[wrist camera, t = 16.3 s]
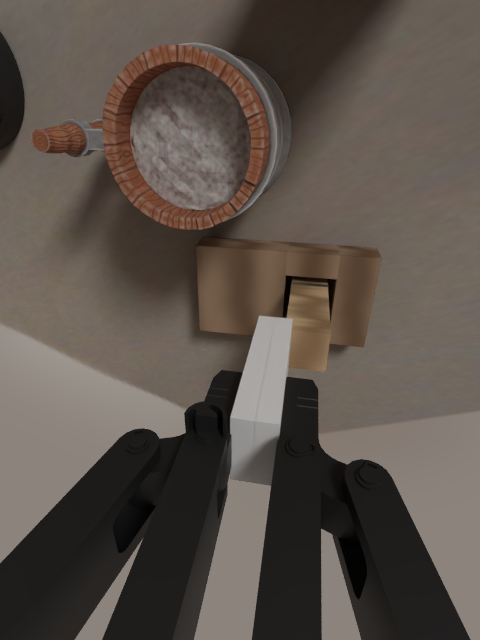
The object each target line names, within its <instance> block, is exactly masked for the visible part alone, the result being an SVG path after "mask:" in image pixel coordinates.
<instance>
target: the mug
mask: <svg viewBox="0 0 480 640" xmlns="http://www.w3.org/2000/svg"><path fill="white" fill-rule="evenodd" d="M31 141H32V144H33V146H34V147H35V148H36V149H37V150H38V151H41V152H46V153H64V152H65V153H67V154H68V155H70V156H73V157H81V156H86V155H90V154H91V153H92V152H93V151H98V150H100V151H103V152H105V153H106V158H107V162H108V164H109V167H110V169H111V171H112V174H113V176H114V178H115V180H116V182H117V183H118V185H119V187H120V188H121V190H122V192H123V193H124V194H125V195H126V197H127V198H128V199H129V200H130V202H131V203H132V204H133V205H134V206H136V207H137V208H138V209H139V210H140V211H142V212H143V213H144V214H145V215H147V216H149V217H150V218H152V219H154V220H155V221H157V222H159V223H162V224H164V225H167V226H169V227H173V228H178V229H184V230H192V229H199V230H201V229H205V228H209V227H213V226H214V225H216V224H219V223H221V222H225V221H227V220H229V219H232V218H234V217H236V216H238V215H239V214H241V213H242V212H243V211H245V210H246V209H247V208H249V207H250V206H251V205H252V204H253V203H254V201H255V200H256V199H257V198H258V197H259V196H260V195H261V194H262V193H263V192H264V191H266V190H267V189H268V188H269V187H270V186H271V185H272V184H273V182H274V181H275V180H276V179H277V178H278V176H279V174H280V173H281V171H282V169H283V167H284V165H285V162H286V160H287V157H288V154H289V149H290V143H291V120H290V115H289V109H288V106H287V103H286V101H285V98H284V96H283V93H282V92H281V90H280V88H279V87H278V85H277V84H276V82H275V81H274V79H273V78H272V77H271V76H270V75H269V74H268V73H267V72H266V71H265V70H264V69H263V68H261V67H260V66H258V65H257V64H255V63H254V62H252V61H250V60H248V59H245V58H242V57H240V56H237V55H231V54H230V53H228V52H227V51H225V50H222V49H220V48H217V47H214V46H212V45H209V44H201V43H192V42H191V43H183V44H174V45H164V46H158V47H155V48H153V49H150V50H148V51H146V52H143V53H142V54H140V55H139V56H138V57H136V58H135V59H134V60H133V61H131V62H130V63H129V64H128V65H127V66H126V67H125V68H124V70H123V71H122V72H121V73H120V74H119V75H118V77H117V79H116V80H115V82H114V84H113V86H112V88H111V90H110V91H109V93H108V97H107V100H106V103H105V107H104V110H103V118H100V119H96V120H94V121H93V122H92V123H86V122H85V121H84V120H80V119H68V120H64V121H63V122H62V123H61V124H59V126H58V127H57V126H53V127H49V128H47V129H43V130H40V129H38V130H34V131H33V132H32V135H31Z"/></svg>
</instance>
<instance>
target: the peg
mask: <svg viewBox="0 0 480 640" xmlns="http://www.w3.org/2000/svg"><path fill="white" fill-rule="evenodd" d="M287 318H290V319H293V321H292V333H291V344H290V355H289V366H288V367H290V368H299V369H308V370H316V371H325V370H326V364H327V357H328V350H329V344H330V337H331V328H330V312H329V295H328V279H325V278H312V277H299V276H293V278H292V282H291V291H290V298H289V305H288V311H287Z"/></svg>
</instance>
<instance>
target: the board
mask: <svg viewBox="0 0 480 640" xmlns="http://www.w3.org/2000/svg"><path fill="white" fill-rule="evenodd" d="M196 258H197V279H198V301H199V323H200V331H210V332H219V333H229V334H239V335H249V336H254V332H255V329H256V325H257V322H258V318H259V316H268V317H279V318H287V311H288V307H286V306H284V305H285V292H286V279H287V276H299V277H312V278H325V279H334V282H333V289H332V297H331V304H330V310H329V312H330V328H331V337H330V344H337V345H346V346H356V347H364V343H365V338H366V333H367V328H368V324H369V319H370V314H371V309H372V304H373V299H374V294H375V289H376V284H377V279H378V274H379V269H380V264H381V259H382V258H381V256H380V254H379V251H378V249H377V248H367V247H352V246H336V245H321V244H305V243H290V242H274V241H259V240H243V239H228V238H212V237H204V238H203V239H202V240H201V241H200V242H199V243H198V244H197V245H196Z"/></svg>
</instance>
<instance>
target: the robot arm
mask: <svg viewBox="0 0 480 640" xmlns="http://www.w3.org/2000/svg"><path fill="white" fill-rule="evenodd" d="M23 112H24V91H23V84H22V79H21V75H20V71H19V68H18V65H17V63H16V60H15V58H14V55H13V53H12V51H11V49H10V47H9V45H8V43H7V41H6V40H5V38H4V37H3V35H2V34H1V32H0V150H1V149H3V148H4V147H6V146H7V145H8V144H9V143H10V142H11V141H12V140H13V139H14V137H15V136H16V134H17V132H18V130H19V128H20V125H21V122H22V118H23ZM292 321H293V319H290V318H279V317H268V316H259V318H258V322H257V325H256V329H255V332H254V336H253V339H252V343H251V346H250V350H249V353H248V357H247V360H246V364H245V367H244V371H243V373H242V372H233V371H225V370H221V371H220V372H219V373H218V374H217V375H216V376H215V377H214V378H213V380H212V383H211V385H210V388H209V390H208V393H207V396H206V398H205V401H204V402H199V403H196V404H194V405H192V406H190V407H189V408H188V409H187V410H186V412H185V413H184V414H185V426H186V433H185V434H182V435H180V436H176V437H172V438H163V439H159V437H158V436H157V434H156V433H155V432H153V431H151V430H148V429H135V430H132V431H130V432H127V433H126V434H124V435H123V436H122V437H120V438H119V439H118V440H117V442H116V443H115V444H114V445H113V446H112V447H111V448H110V449H109V450H108V451H107V452H106V453H105V454H104V455H103V456H102V457H101V458H100V460H98V462H96V464H95V465H94V466H93V467H92V468H91V469H90V470H89V471H88V472H87V473H86V474H85V475H84V476H83V478H81V479H80V480H79V481H78V482H77V484H76V485H75V486H74V487H73V488H72V489H71V490H70V491H69V492H68V493H67V494H66V495H65V496H64V497H63V498H62V499H61V500H60V501H59V503H57V504H56V506H55V507H54V508H53V509H52V510H51V511H50V512H49V513H48V514H47V515H46V516H45V517H44V518H43V519H42V520H41V521H40V522H39V523H38V524H37V525H36V527H35V528H34V529H33V530H32V531H31V532H30V533H29V534H28V535H27V536H26V537H25V538H24V539H23V540H22V541H21V542H20V543H19V544H18V545H17V546H16V548H15V549H14V550H13V551H12V552H11V553H10V554H9V555H8V556H7V557H6V558H5V559H4V560H3V561H2V562H1V563H0V640H74V639H75V638H76V636H77V635H78V633H79V632H80V631H81V629H82V628H83V626H84V625H85V623H86V621H87V620H88V619H89V617H90V616H91V614H92V613H93V611H94V610H95V608H96V607H97V605H98V604H99V602H100V601H101V599H102V598H103V596H104V595H105V593H106V592H107V590H108V589H109V588H110V586H111V584H112V583H113V582H114V580H115V579H116V577H117V576H118V574H119V573H120V571H121V570H122V568H123V567H124V565H125V563H126V562H127V561H128V559H129V558H130V556H131V555H132V553H133V552H134V550H135V549H136V547H137V545H138V544H139V543H140V541H141V540H142V539H143V541H142V543H141V545H140V548H139V550H138V553H137V555H136V558H135V560H134V563H133V565H132V568H131V570H130V572H129V575H128V577H127V580H126V582H125V585H124V587H123V590H122V592H121V595H120V597H119V600H118V602H117V605H116V607H115V610H114V612H113V614H112V617H111V619H110V622H109V624H108V627H107V629H106V632H105V634H104V637H103V639H102V640H194V636H195V632H196V627H197V623H198V619H199V614H200V610H201V605H202V601H203V597H204V592H205V588H206V584H207V580H208V575H209V571H210V567H211V563H212V558H213V554H214V550H215V545H216V540H217V536H218V532H219V527H220V524H221V519H222V515H223V510H224V506H225V502H226V498H227V482H228V479H229V475H230V479H233V480H239V481H246V482H252V483H259V484H264V485H271V492H270V500H269V508H268V516H267V524H266V532H265V540H264V548H263V556H262V564H261V572H260V580H259V588H258V596H257V604H256V611H255V619H254V628H253V636H252V640H322V638H321V636H322V635H321V529H324V530H325V531H327V532H329V533H331V534H333V539H334V543H335V546H336V550H337V553H338V557H339V561H340V564H341V568H342V571H343V575H344V579H345V582H346V586H347V589H348V593H349V596H350V600H351V604H352V607H353V611H354V614H355V618H356V622H357V625H358V628H359V632H360V636H361V640H470V638H469V636H468V634H467V632H466V630H465V628H464V626H463V623H462V622H461V619H460V617H459V615H458V613H457V611H456V609H455V607H454V605H453V603H452V601H451V599H450V597H449V595H448V592H447V590H446V588H445V586H444V585H443V582H442V580H441V578H440V576H439V574H438V572H437V570H436V568H435V566H434V564H433V562H432V559H431V557H430V555H429V553H428V551H427V549H426V547H425V545H424V543H423V541H422V539H421V537H420V535H419V533H418V531H417V529H416V527H415V525H414V522H413V520H412V518H411V516H410V514H409V512H408V510H407V508H406V506H405V504H404V502H403V500H402V498H401V496H400V494H399V492H398V489H397V487H396V485H395V483H394V481H393V479H392V477H391V476H390V474H389V473H388V472H387V470H386V469H384V468H383V467H382V466H380V465H379V464H377V463H375V462H372V461H369V460H362V459H360V460H356V461H352V462H351V463H350V464H348V465H346V464H344V463H341V462H339V461H337V460H335V459H333V458H332V457H330V456H329V455H328V454H326V453H325V452H324V450H323V449H322V448H321V446H320V444H319V439H318V388H317V387H316V385H315V383H314V382H313V380H309V379H300V378H292V377H287V375H288V366H289V355H290V344H291V333H292ZM143 537H144V538H143Z"/></svg>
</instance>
